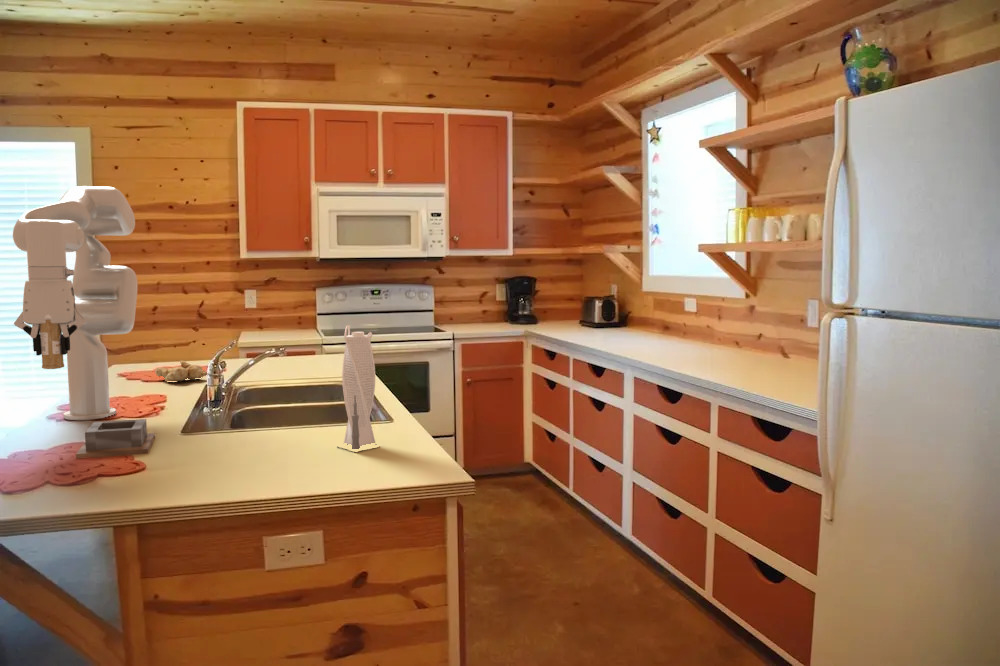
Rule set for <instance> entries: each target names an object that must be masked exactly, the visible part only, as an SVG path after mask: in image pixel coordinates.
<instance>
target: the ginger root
mask: <svg viewBox="0 0 1000 666" xmlns="http://www.w3.org/2000/svg"><path fill="white" fill-rule="evenodd" d="M179 362H180V366H177V367H170V368H165V367H156V369H155V371H154V373H155V375H156V376H157V377H159V376H163V377H164V378H165V379H164V378H163V379H164V381H165V382H166V381H180V382H183V381H182V380H185V379H187V378H188V379H195V378H201V377H202V378H204V377H207V376H208V375H207V372H208V371H205V370H204V369H203V367H202V366H201V365H198V364H191V363H189V362H186V361H185V360H183V359H180V360H179ZM206 375H207V376H206ZM202 378H201V379H202Z"/></svg>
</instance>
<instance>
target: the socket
mask: <svg viewBox="0 0 1000 666" xmlns="http://www.w3.org/2000/svg"><path fill="white" fill-rule="evenodd" d="M147 431H148V427H147V418H142V419H140V418H139V419H126V420H125V419H124V420H122V419H121V420H108V421H107V420H106V421H93V422H92V424H91V425H90V426H89V427H88V428H87V429H86V431H85V432H84V440H85V441H84V443H83V444H82V446H81V447H80V448H79V449H78V451H76V453H75V459H76V458H79V459H83V458H82V457H93V458H103V457H104V458H106V457H114V456H115V457H116V456H117V457H119V455H121V456H131V455H132V456H133V455H147V454H149V451H150V450H151V447H152V445H153V443H154V441H155V438H156V433H155V432H147Z"/></svg>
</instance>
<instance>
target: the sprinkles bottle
mask: <svg viewBox="0 0 1000 666" xmlns="http://www.w3.org/2000/svg"><path fill="white" fill-rule="evenodd" d="M44 319H51V316H50V315H46V316H45V318H44ZM45 321H46V323H44V324H42V325H40V341H41V363H42V365H41V368H42V369H43V370H56V369H61V368H64V367H65V363H64V355H63V354H62V353H61V338H62V334H63V333H62V330H61V327H60V324H54V323H52V322H50V321H51V320H45Z"/></svg>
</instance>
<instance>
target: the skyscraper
mask: <svg viewBox="0 0 1000 666" xmlns="http://www.w3.org/2000/svg"><path fill="white" fill-rule="evenodd" d="M344 329H345V330H344V334H343V335H344V337H343V339H344V341H345V347H344V353H343V360H342V372H341V374H342V375H341V377H342V378H341V379H342V391H343V393H342V394H343V398H344V399H343V400H344V406H345V411H346V415H347V418H348V420H347V424H346V429H345V430H346V431H345V434H344V439H343V444H344V443H347V445H348V444H351V445H352V449H359V448H360V446H362V445H366V444H371V443H376V439H375V435H374V431H373V426H372V423H371V419H370V416H371V412H372V409H373V404H374V398H375V389H376V366H375V365H376V364H375V359H374V358H375V357H374V352H373V348H372V342H371V340H372V336H373V333H372V331H369V332H368V334H365V332H364V331H351V325H350V323H349V324H347V325H346V326H345V328H344Z"/></svg>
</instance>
